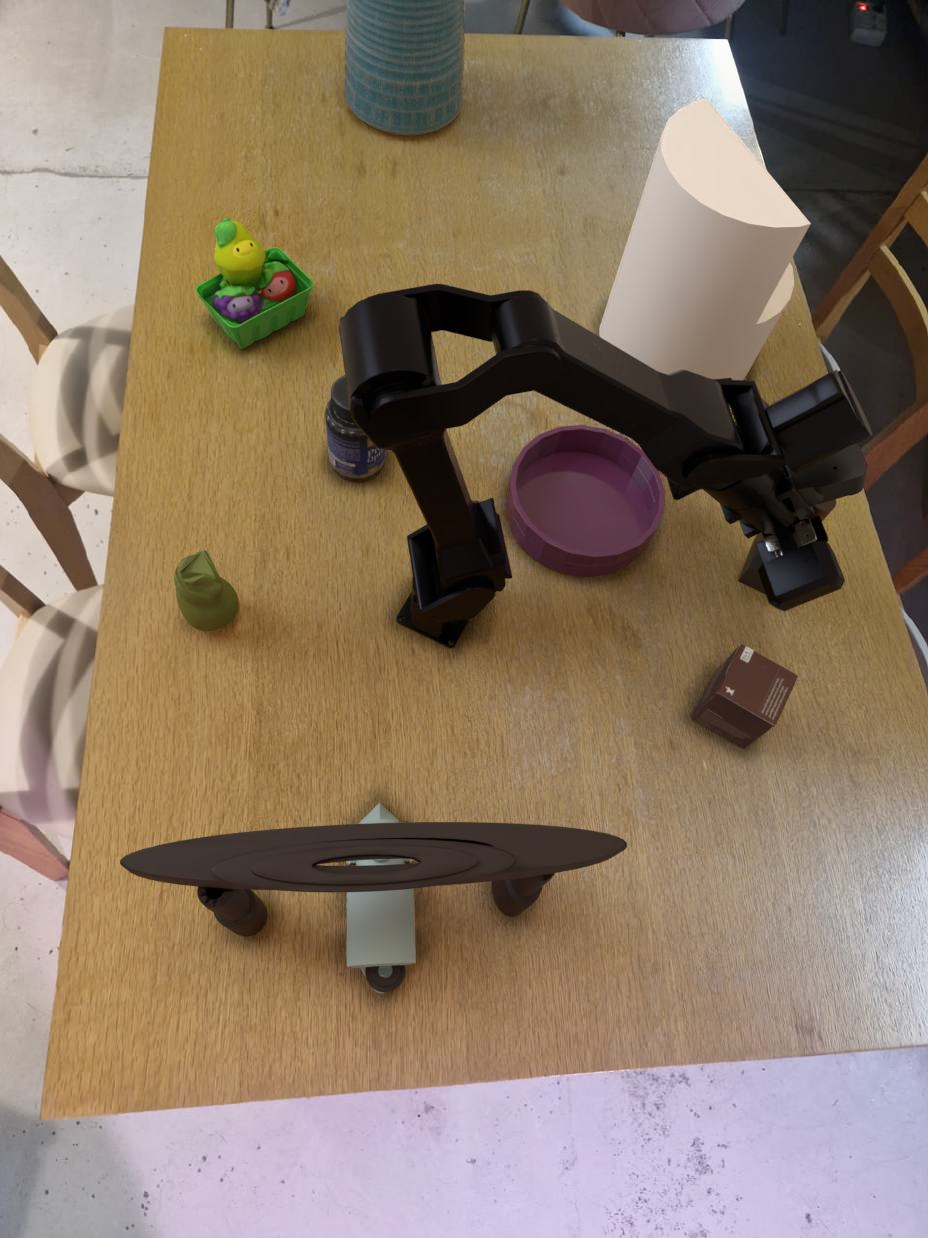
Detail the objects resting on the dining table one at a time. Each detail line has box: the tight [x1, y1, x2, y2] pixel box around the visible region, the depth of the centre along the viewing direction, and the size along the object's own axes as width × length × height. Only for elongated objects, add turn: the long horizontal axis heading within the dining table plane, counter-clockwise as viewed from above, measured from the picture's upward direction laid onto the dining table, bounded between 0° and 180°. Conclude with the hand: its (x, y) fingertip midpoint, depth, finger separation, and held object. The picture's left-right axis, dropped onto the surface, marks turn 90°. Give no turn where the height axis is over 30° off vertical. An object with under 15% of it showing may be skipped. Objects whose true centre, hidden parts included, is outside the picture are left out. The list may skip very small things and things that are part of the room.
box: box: [690, 643, 799, 750], centre depth 80 cm, size 6×6×7 cm
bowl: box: [504, 424, 666, 578], centre depth 90 cm, size 16×16×4 cm
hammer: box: [737, 499, 837, 596], centre depth 83 cm, size 6×4×13 cm, turn 154°
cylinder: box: [598, 97, 812, 380], centre depth 92 cm, size 19×19×25 cm
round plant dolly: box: [119, 802, 628, 995], centre depth 64 cm, size 16×21×33 cm
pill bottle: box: [324, 374, 387, 482], centre depth 87 cm, size 6×6×11 cm
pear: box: [173, 549, 240, 633], centre depth 78 cm, size 6×5×10 cm
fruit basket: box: [195, 216, 315, 350], centre depth 95 cm, size 11×9×11 cm
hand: (804, 534), depth 83 cm, fingers closed on hammer, 2 cm apart
